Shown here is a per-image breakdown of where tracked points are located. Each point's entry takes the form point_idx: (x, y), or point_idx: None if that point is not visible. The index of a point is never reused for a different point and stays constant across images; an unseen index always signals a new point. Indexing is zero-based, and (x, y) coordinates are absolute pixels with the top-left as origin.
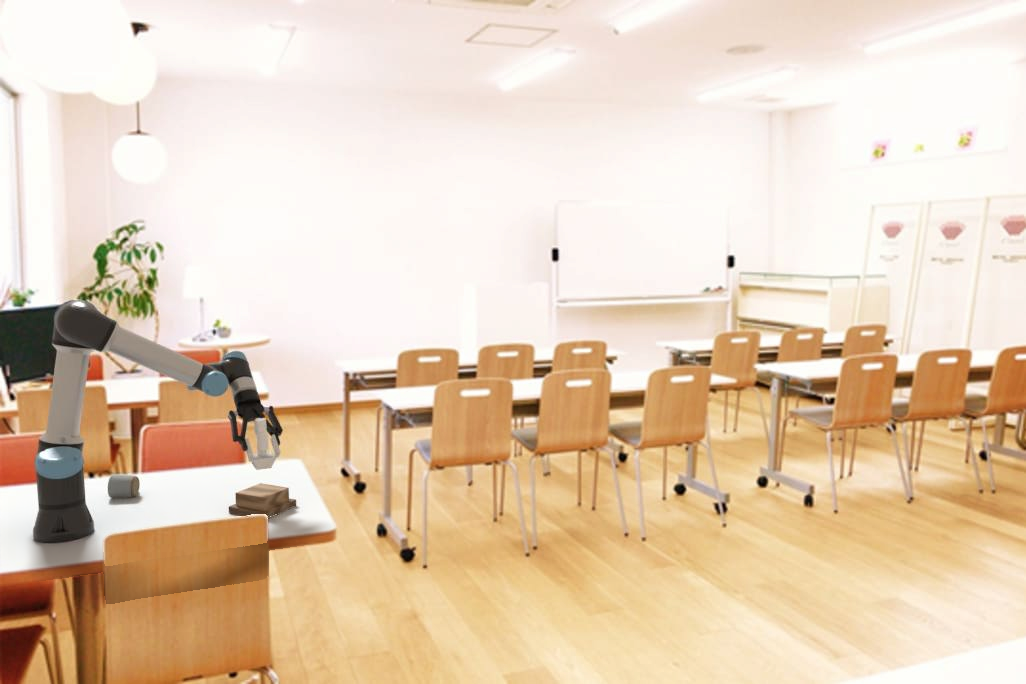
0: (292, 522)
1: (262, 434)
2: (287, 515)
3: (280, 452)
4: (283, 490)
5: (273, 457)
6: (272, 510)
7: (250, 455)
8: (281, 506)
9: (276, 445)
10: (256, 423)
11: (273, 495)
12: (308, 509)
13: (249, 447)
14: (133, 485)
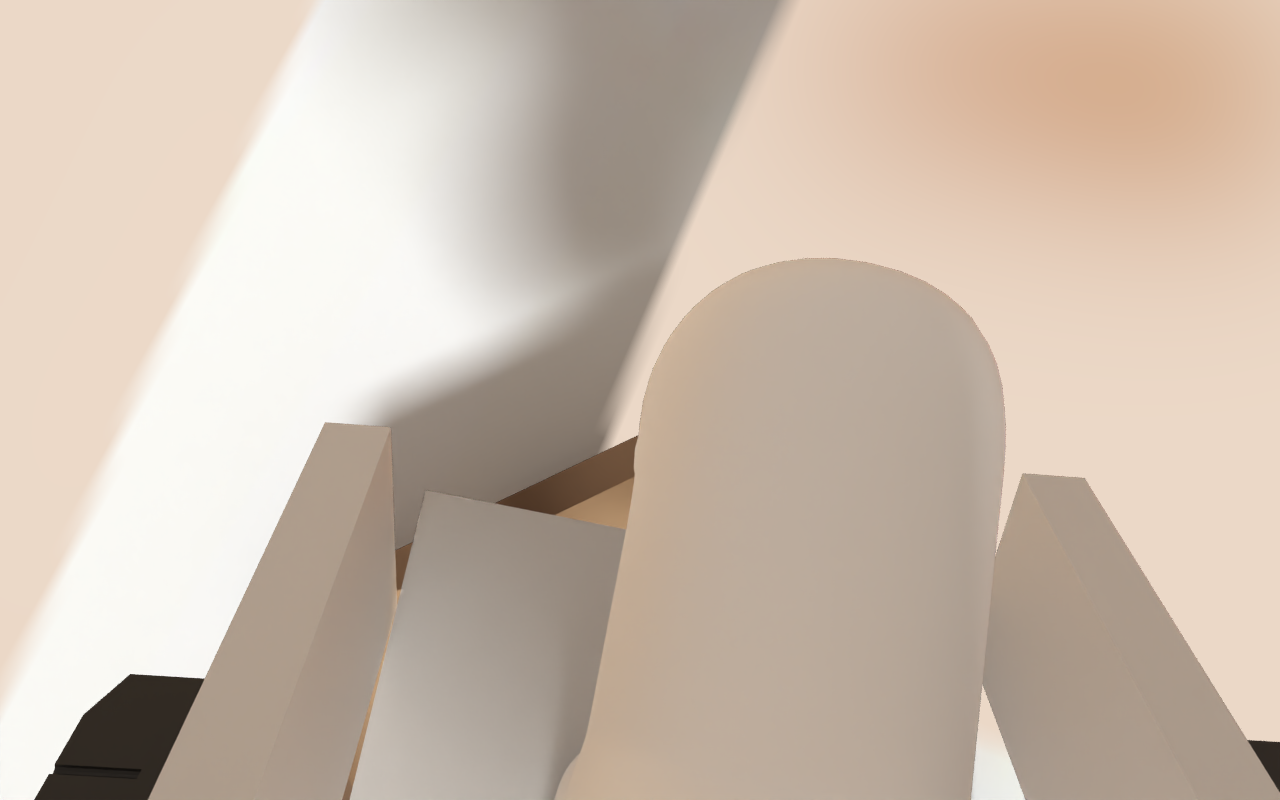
0: (554, 178)
1: (956, 312)
2: (498, 390)
3: (324, 431)
4: (398, 590)
5: (501, 510)
6: (635, 438)
7: (1097, 520)
8: (500, 501)
9: (317, 567)
10: None
11: (581, 505)
12: (235, 429)
13: (1172, 669)
14: None
